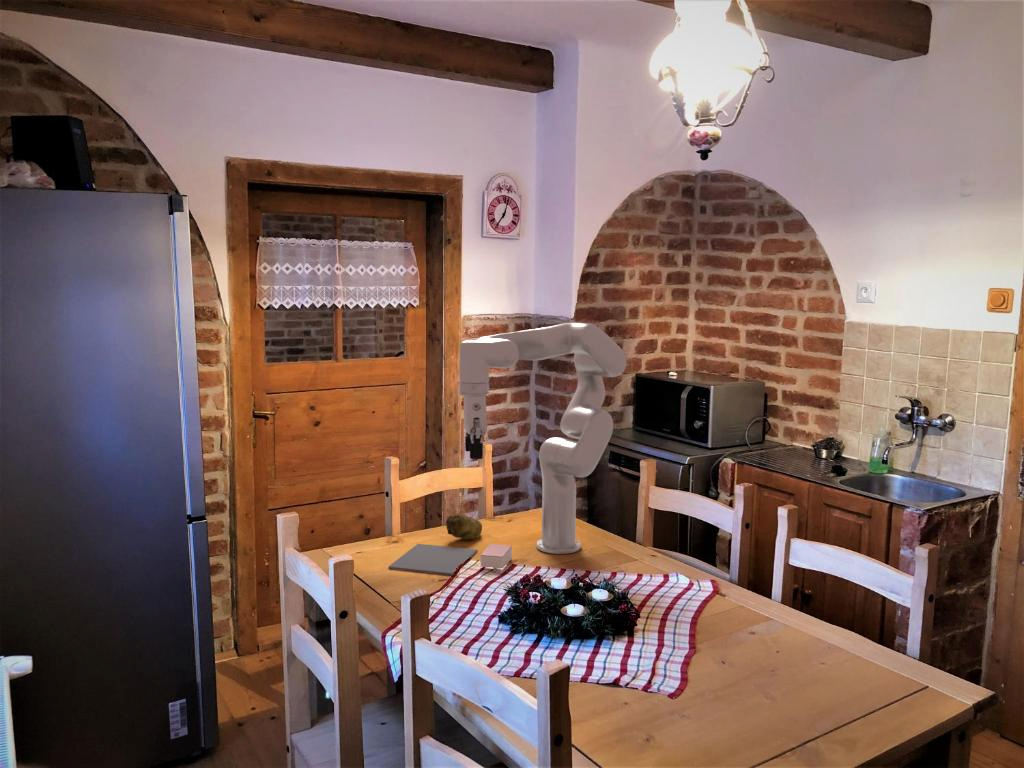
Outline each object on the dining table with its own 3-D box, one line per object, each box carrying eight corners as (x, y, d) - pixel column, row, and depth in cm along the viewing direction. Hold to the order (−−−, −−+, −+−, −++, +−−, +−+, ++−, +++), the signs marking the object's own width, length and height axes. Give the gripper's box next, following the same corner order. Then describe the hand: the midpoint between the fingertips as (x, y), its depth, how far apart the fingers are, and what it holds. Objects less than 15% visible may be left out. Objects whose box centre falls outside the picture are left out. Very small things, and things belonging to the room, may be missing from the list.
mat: (417, 545, 236) (417, 543, 236) (477, 551, 231) (477, 549, 231) (388, 568, 217) (388, 566, 217) (453, 575, 212) (453, 573, 212)
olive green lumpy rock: (491, 539, 242) (491, 512, 241) (453, 546, 235) (452, 519, 234) (477, 531, 249) (477, 506, 248) (439, 538, 242) (439, 512, 241)
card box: (490, 558, 226) (490, 543, 226) (511, 559, 225) (511, 545, 224) (480, 569, 217) (480, 554, 217) (502, 571, 216) (502, 556, 215)
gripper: (493, 393, 202) (493, 461, 204) (484, 384, 219) (483, 448, 221) (463, 393, 201) (463, 462, 203) (455, 385, 218) (455, 448, 220)
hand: (473, 454), depth 212 cm, fingers open, 9 cm apart
